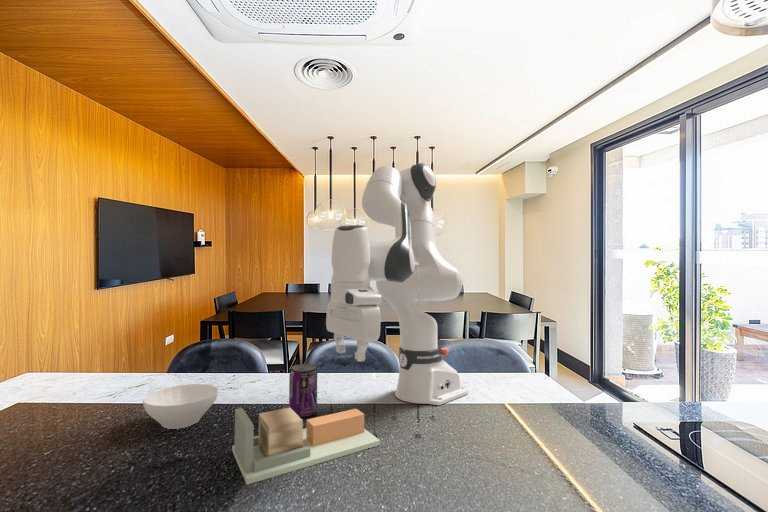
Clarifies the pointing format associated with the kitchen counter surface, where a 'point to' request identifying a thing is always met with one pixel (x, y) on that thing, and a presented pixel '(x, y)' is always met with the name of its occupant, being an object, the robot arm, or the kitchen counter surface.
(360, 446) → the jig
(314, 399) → the beverage can
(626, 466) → the kitchen counter surface
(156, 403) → the bowl
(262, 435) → the block
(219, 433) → the kitchen counter surface
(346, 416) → the rectangular bar
